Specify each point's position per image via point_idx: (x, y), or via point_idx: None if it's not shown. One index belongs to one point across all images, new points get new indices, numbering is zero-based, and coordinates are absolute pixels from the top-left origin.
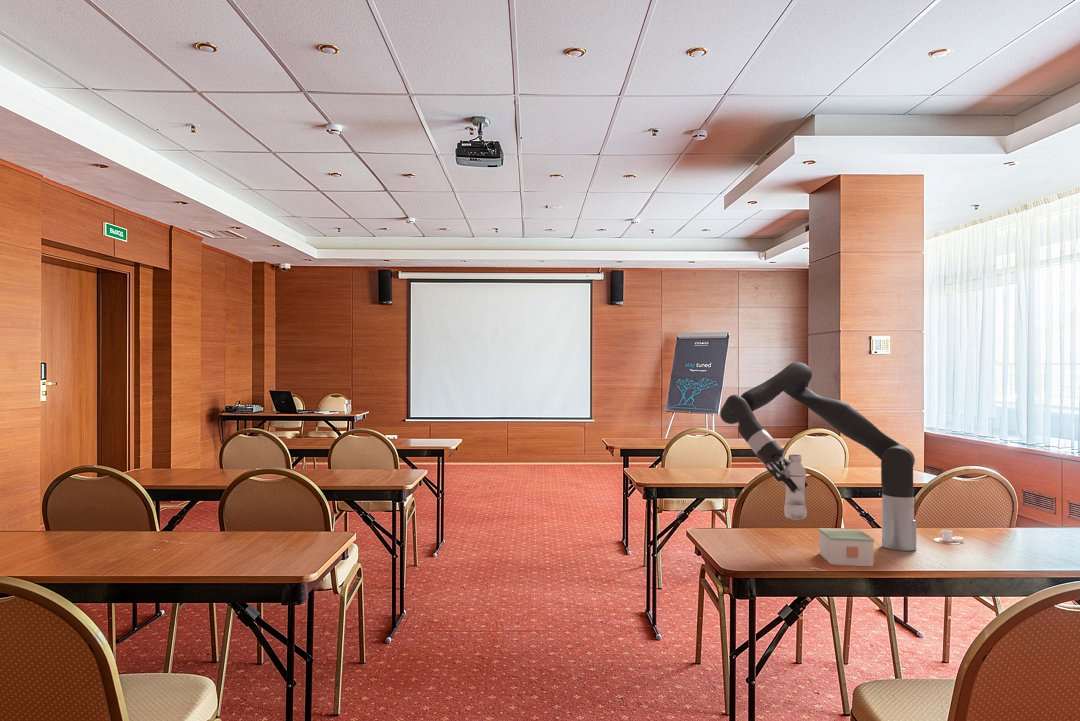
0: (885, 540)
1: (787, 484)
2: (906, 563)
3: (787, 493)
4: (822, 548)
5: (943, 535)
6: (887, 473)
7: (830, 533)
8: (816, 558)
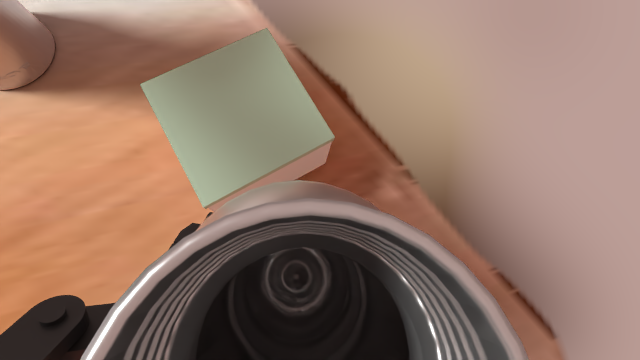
0: (20, 65)
1: None
2: (189, 19)
3: (345, 332)
4: None
5: None
6: None
7: (270, 151)
8: None
